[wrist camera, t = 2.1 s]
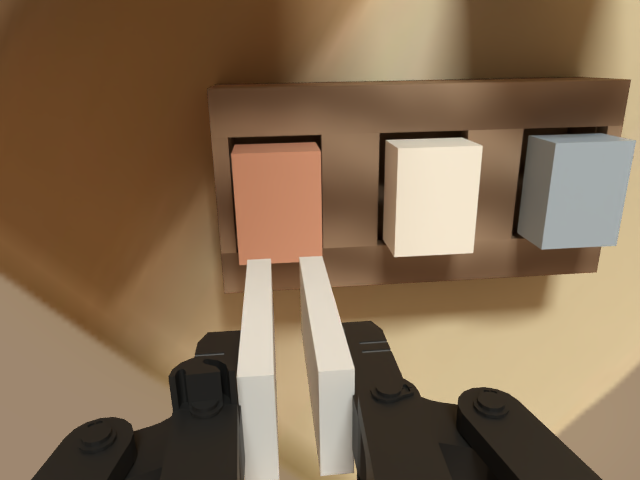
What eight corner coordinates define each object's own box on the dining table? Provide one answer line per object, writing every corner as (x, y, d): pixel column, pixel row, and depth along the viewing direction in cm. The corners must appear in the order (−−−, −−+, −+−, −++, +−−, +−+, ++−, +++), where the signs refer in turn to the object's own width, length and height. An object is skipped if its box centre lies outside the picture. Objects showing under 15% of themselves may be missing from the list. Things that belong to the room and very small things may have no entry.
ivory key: (385, 140, 29) (398, 148, 26) (462, 137, 30) (482, 145, 27) (382, 239, 31) (394, 257, 28) (454, 235, 32) (473, 253, 29)
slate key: (528, 135, 30) (556, 143, 27) (601, 133, 30) (635, 140, 27) (517, 232, 32) (541, 249, 29) (585, 229, 32) (616, 245, 29)
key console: (215, 84, 32) (207, 88, 27) (580, 77, 34) (630, 79, 29) (229, 262, 36) (224, 293, 31) (555, 246, 38) (596, 272, 33)
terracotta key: (234, 144, 28) (231, 153, 26) (315, 141, 29) (320, 151, 26) (241, 246, 30) (239, 265, 28) (317, 242, 31) (322, 260, 28)
